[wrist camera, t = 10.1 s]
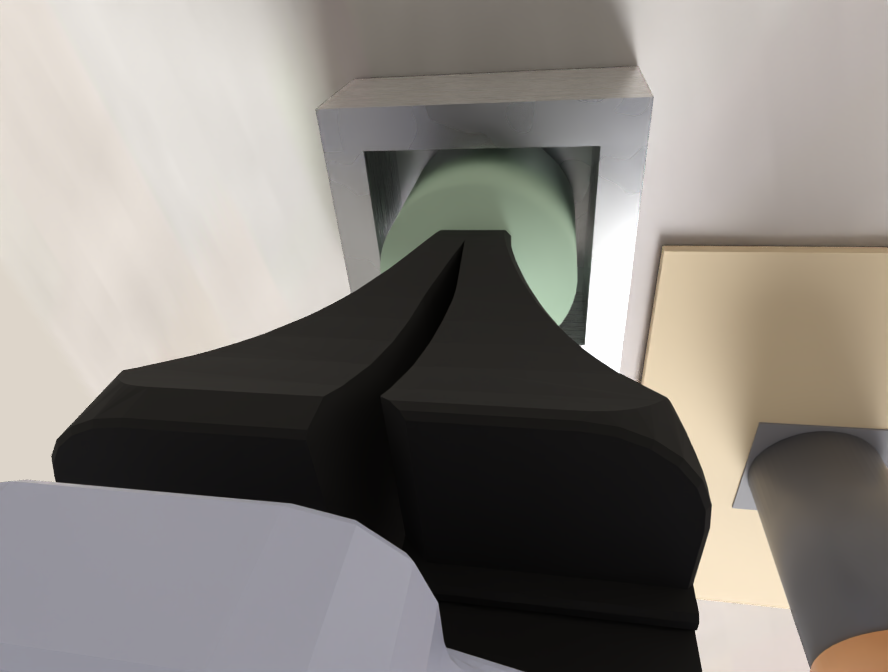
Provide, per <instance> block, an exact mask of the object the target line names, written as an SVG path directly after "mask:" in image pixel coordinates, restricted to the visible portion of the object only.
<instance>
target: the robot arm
mask: <svg viewBox="0 0 888 672" xmlns="http://www.w3.org/2000/svg"><path fill="white" fill-rule="evenodd" d="M51 457H52V464H53V469H54V476H55V480H56V482H46V481H36V480H19V481H8V482H1V483H0V672H702V668H701V662H700V657H699V652H698V646H697V641H696V635H695V630H697V628H698V625H699V611H698V606H697V601H696V596H695V591H694V586H693V583H694V580H695V577H696V573H697V570H698V567H699V563H700V560H701V557H702V553H703V550H704V547H705V543H706V540H707V537H708V533H709V530H710V524H711V511H712V503H711V500H710V495H709V490H708V486H707V483H706V479H705V476H704V473H703V470H702V467H701V465H700V462H699V460H698V457H697V455H696V453H695V450H694V448H693V446H692V444H691V441H690V439H689V437H688V435H687V432H686V430H685V428H684V426H683V424H682V422H681V420H680V418H679V416H678V414H677V413H676V411H675V409H674V407H673V405H672V403H671V402H670V400H669V399H668V398H667V397H665V396H663V395H661V394H659V393H658V392H656V391H654V390H652V389H650V388H648V387H646V386H644V385H642V384H640V383H638V382H636V381H634V380H632V379H630V378H628V377H626V376H624V375H622V374H620V373H619V372H617V371H615V370H614V369H612V368H611V367H609V366H608V365H606V364H605V363H603V362H601V361H600V360H598V359H597V358H595V357H594V356H593V355H591V354H590V353H589V352H587V351H586V350H585V349H583V348H582V347H581V346H580V345H579V344H577V343H576V342H575V341H574V340H573V339H572V338H570V337H569V336H568V335H567V334H566V333H565V332H564V331H563V330H562V329H561V328H560V327H559V326H558V325H557V324H556V322H555V321H554V320H553V319H552V318H551V317H550V315H549V314H548V313H547V312H546V310H545V309H544V308H543V307H542V305H541V304H540V302H539V301H538V300H537V298H536V296H535V295H534V293H533V292H532V290H531V289H530V287H529V285H528V284H527V282H526V280H525V278H524V276H523V274H522V272H521V270H520V268H519V266H518V264H517V262H516V259H515V256H514V253H513V250H512V247H511V235H510V234H509V233H508V232H507V231H506V230H440V231H438V232H436V233H435V234H434V235H432V236H431V237H430V238H428V239H427V240H426V241H424V242H423V243H422V244H421V245H419V246H418V247H417V248H415V249H414V250H413V251H412V252H410V253H409V254H408V255H406V256H405V257H404V258H402V259H401V260H400V261H398V262H397V263H396V264H394V265H393V266H392V267H390V268H389V269H388V270H386V271H385V272H383V273H382V274H380V275H379V276H377V277H376V278H374V279H373V280H371V281H370V282H368V283H367V284H365V285H364V286H362V287H361V288H359V289H358V290H356V291H354V292H353V293H351V294H349V295H348V296H346V297H344V298H342V299H340V300H339V301H337V302H335V303H333V304H331V305H329V306H327V307H325V308H323V309H321V310H319V311H317V312H315V313H313V314H311V315H309V316H307V317H304V318H302V319H299V320H297V321H294V322H292V323H290V324H287V325H285V326H282V327H280V328H277V329H275V330H273V331H270V332H268V333H265V334H262V335H260V336H257V337H254V338H251V339H248V340H245V341H242V342H239V343H235V344H232V345H229V346H225V347H222V348H218V349H215V350H212V351H208V352H204V353H200V354H197V355H193V356H188V357H184V358H179V359H175V360H170V361H166V362H161V363H157V364H152V365H148V366H143V367H138V368H133V369H128V370H123V371H122V372H121V373H120V374H119V375H118V376H117V377H116V378H115V379H114V380H113V381H112V382H111V383H110V384H109V385H108V386H107V387H106V388H105V389H104V390H103V392H102V393H101V394H100V395H99V396H98V397H97V398H96V399H95V400H94V401H93V402H92V403H91V404H90V405H89V406H88V407H87V408H86V409H85V410H84V412H83V413H82V414H81V415H80V416H79V417H78V418H77V419H76V420H75V421H74V422H73V423H72V424H71V425H70V426H69V427H68V428H67V429H66V430H65V432H64V433H63V434H62V435H61V436H60V437H59V438H58V439H57V440H56V444H55V447H54V450H53V453H52V456H51Z"/></svg>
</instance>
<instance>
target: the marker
mask: <svg viewBox="0 0 888 672" xmlns="http://www.w3.org/2000/svg"><path fill="white" fill-rule="evenodd" d="M748 484H749V487H750V490H751V493H752V496H753V499H754V502H755V505H756V508H757V511H758V514H759V517H760V520H761V523H762V526H763V529H764V532H765V535H766V538H767V541H768V544H769V547H770V550H771V553H772V556H773V559H774V562H775V565H776V568H777V571H778V574H779V577H780V580H781V583H782V586H783V589H784V592H785V595H786V598H787V601H788V604H789V607H790V610H791V613H792V616H793V619H794V622H795V625H796V628H797V630H798V633H799V636H800V639H801V642H802V645H803V648H804V651H805V654H806V657H807V660H808V663H809V666H810V669H811V670H810V672H888V469H887V467H886V465H885V464H884V462H883V460H882V459H881V457H880V455H879V454H878V452H877V451H876V449H875V448H874V447H873V446H872V445H871V444H869V443H868V442H866V441H865V440H863V439H861V438H859V437H856V436H853V435H850V434H846V433H841V432H834V431H816V432H808V433H803V434H798V435H794V436H791V437H788V438H785V439H783V440H780V441H778V442H776V443H774V444H773V445H771V446H769V447H768V448H766V449H765V450H764V451H763V452H761V453H760V454H759V455H758V456H757V457H756V459H755V460H754V461H753V463H752V464H751V466H750V469H749V472H748Z"/></svg>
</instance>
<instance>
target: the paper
mask: <svg viewBox="0 0 888 672" xmlns="http://www.w3.org/2000/svg"><path fill="white" fill-rule="evenodd" d="M641 384H642V385H644V386H646V387H648V388H650V389H652V390H654V391H656V392H658V393H659V394H661V395H663V396H665V397H667V398H668V399H669V400H670V402H671V403H672V405H673V407H674V409H675V411H676V413H677V414H678V416H679V418H680V420H681V422H682V424H683V426H684V428H685V430H686V432H687V435H688V437H689V439H690V441H691V444H692V446H693V448H694V450H695V453H696V455H697V457H698V460H699V462H700V465H701V467H702V470H703V473H704V476H705V479H706V483H707V486H708V490H709V495H710V500H711V503H712V511H711V524H710V530H709V533H708V537H707V540H706V543H705V547H704V550H703V553H702V557H701V560H700V563H699V567H698V570H697V573H696V577H695V580H694V583H693V586H694V591H695V596H696V599H700V600H710V601H719V602H728V603H737V604H747V605H756V606H765V607H775V608H784V609H790V607H789V604H788V601H787V598H786V595H785V592H784V589H783V586H782V583H781V580H780V577H779V574H778V571H777V568H776V565H775V562H774V559H773V556H772V553H771V550H770V547H769V544H768V541H767V538H766V535H765V532H764V529H763V526H762V523H761V520H760V517H759V514H758V511H757V508H756V505H755V502H754V499H753V496H752V493H751V490H750V487H749V484H748V472H749V469H750V466H751V464H752V463H753V461H754V460H755V459H756V457H757V456H758V455H759V454H760V453H761V452H763V451H764V450H765V449H766V448H768V447H769V446H771V445H773V444H774V443H776V442H778V441H780V440H783V439H785V438H788V437H791V436H794V435H798V434H803V433H808V432H816V431H834V432H841V433H846V434H850V435H853V436H856V437H859V438H861V439H863V440H865V441H866V442H868V443H869V444H871V445H872V446H873V447H874V448H875V449H876V451H877V452H878V454H879V455H880V457H881V459H882V460H883V462H884V464H885V465H886V467H887V469H888V247H792V246H662V252H661V258H660V265H659V271H658V278H657V284H656V290H655V297H654V303H653V310H652V316H651V323H650V329H649V335H648V342H647V348H646V355H645V361H644V368H643V374H642V380H641Z"/></svg>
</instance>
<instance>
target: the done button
mask: <svg viewBox="0 0 888 672" xmlns="http://www.w3.org/2000/svg"><path fill="white" fill-rule="evenodd" d="M440 230H506V231H507V232H508V233H509V234H510V235H511V247H512V250H513V253H514V256H515V259H516V262H517V264H518V266H519V268H520V270H521V272H522V274H523V276H524V278H525V280H526V282H527V284H528V285H529V287H530V289H531V290H532V292H533V293H534V295H535V296H536V298H537V300H538V301H539V302H540V304H541V305H542V307H543V308H544V309H545V310H546V312H547V313H548V314H549V315H550V317H551V318H552V319H553V320H554V321H555V322H556V324H557V325H558V326H559V325H560V324H561V323H562V322H563V320H564V319H565V317H566V316H567V314H568V312H569V310H570V308H571V306H572V304H573V300H574V297H575V294H576V288H577V250H576V224H575V203H574V197H573V193H572V190H571V186H570V184H569V181H568V179H567V177H566V175H565V174H564V172H563V171H562V169H561V168H560V166H559V165H558V164H557V163H556V161H555V160H554V159H553V158H552V157H551V156H550V155H549V154H547V153H546V152H545V151H544V150H543V149H541V148H540V147H528V148H483V149H442V150H440V151H439V152H438V153H437V154H436V155H435V156H434V157H433V158H431V159H430V161H429V162H428V163H427V165H426V166H425V167H424V169H423V170H422V172H421V174H420V176H419V178H418V179H417V181H416V183H415V185H414V187H413V188H412V190H411V192H410V194H409V196H408V197H407V199H406V201H405V203H404V205H403V207H402V208H401V210H400V212H399V214H398V216H397V217H396V219H395V221H394V223H393V225H392V226H391V228H390V230H389V232H388V234H387V236H386V239H385V241H384V244H383V248H382V253H381V261H380V272H381V274H382V273H383V272H385V271H386V270H388V269H389V268H390V267H392V266H393V265H394V264H396V263H397V262H398V261H400V260H401V259H402V258H404V257H405V256H406V255H408V254H409V253H410V252H412V251H413V250H414V249H415V248H417V247H418V246H419V245H421V244H422V243H423V242H424V241H426V240H427V239H428V238H430V237H431V236H432V235H434V234H435V233H436V232H438V231H440Z"/></svg>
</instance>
